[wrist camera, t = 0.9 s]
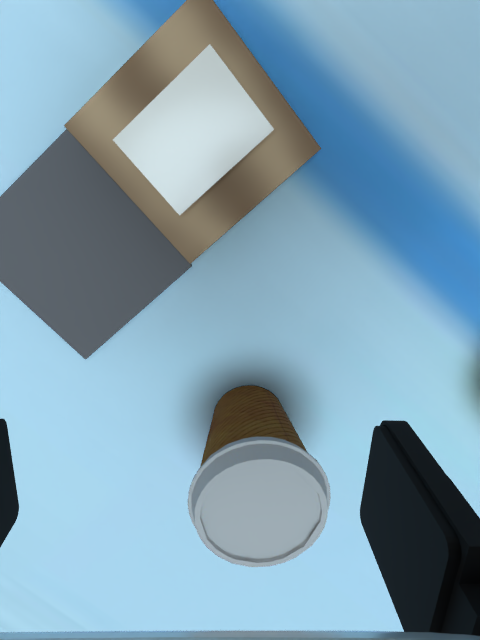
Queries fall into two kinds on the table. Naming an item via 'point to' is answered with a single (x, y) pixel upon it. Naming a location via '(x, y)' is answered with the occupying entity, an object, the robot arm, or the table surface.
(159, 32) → the block
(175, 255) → the mat
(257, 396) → the disposable coffee cup
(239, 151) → the tile
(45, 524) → the table surface
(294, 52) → the table surface
